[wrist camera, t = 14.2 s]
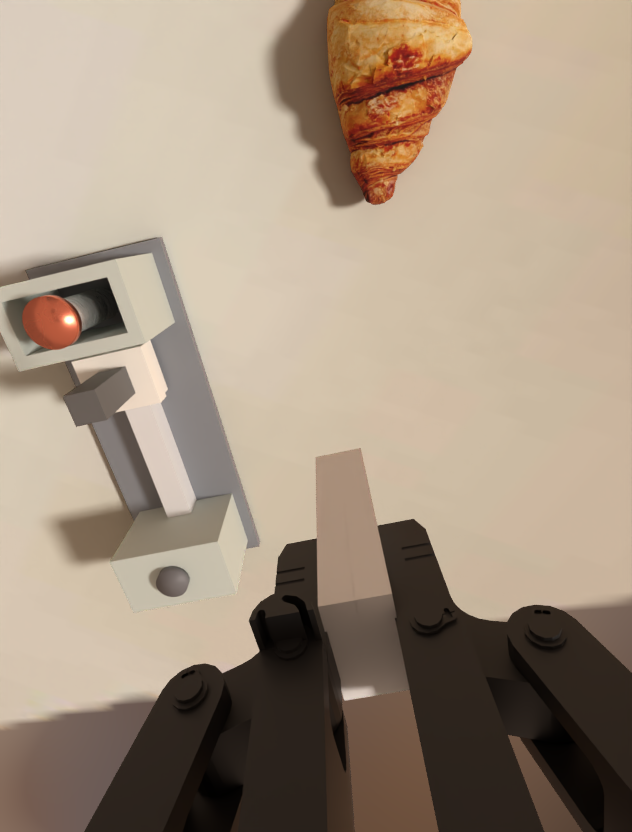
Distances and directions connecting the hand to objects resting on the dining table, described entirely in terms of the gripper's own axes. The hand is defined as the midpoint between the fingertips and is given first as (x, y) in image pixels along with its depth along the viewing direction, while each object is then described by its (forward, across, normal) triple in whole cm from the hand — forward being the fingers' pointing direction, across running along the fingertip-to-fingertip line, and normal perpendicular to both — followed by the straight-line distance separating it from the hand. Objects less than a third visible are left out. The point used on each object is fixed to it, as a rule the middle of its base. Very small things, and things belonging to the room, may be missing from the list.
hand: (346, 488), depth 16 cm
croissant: (+30, +9, +19) cm, 36 cm away
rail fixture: (+29, -18, -6) cm, 35 cm away
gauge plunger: (+27, -18, +6) cm, 33 cm away
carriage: (+28, -18, 0) cm, 33 cm away
